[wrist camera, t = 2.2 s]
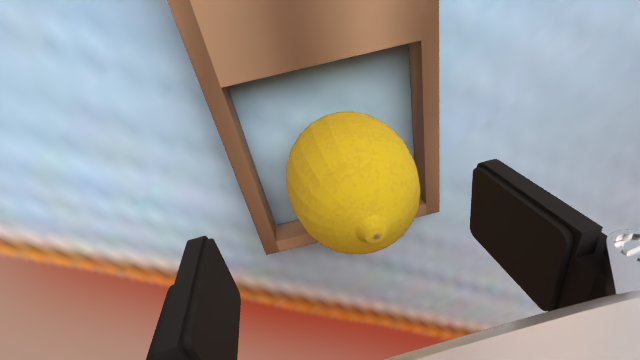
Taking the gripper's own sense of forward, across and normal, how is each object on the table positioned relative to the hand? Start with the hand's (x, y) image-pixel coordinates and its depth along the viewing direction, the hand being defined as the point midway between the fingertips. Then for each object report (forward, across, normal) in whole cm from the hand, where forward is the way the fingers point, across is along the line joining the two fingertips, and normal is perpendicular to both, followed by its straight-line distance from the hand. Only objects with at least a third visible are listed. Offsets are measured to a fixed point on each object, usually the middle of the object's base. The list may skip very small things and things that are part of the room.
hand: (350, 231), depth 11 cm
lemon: (+7, -1, 0) cm, 7 cm away
